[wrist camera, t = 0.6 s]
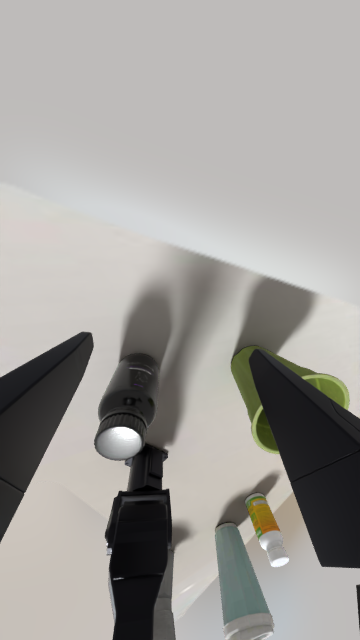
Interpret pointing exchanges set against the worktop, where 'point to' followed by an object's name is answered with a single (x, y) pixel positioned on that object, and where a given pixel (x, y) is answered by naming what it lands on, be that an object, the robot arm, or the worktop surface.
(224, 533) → the disposable coffee cup
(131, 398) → the supplement bottle
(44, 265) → the worktop surface
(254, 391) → the plant pot
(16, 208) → the worktop surface
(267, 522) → the supplement bottle
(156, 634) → the coffeepot
